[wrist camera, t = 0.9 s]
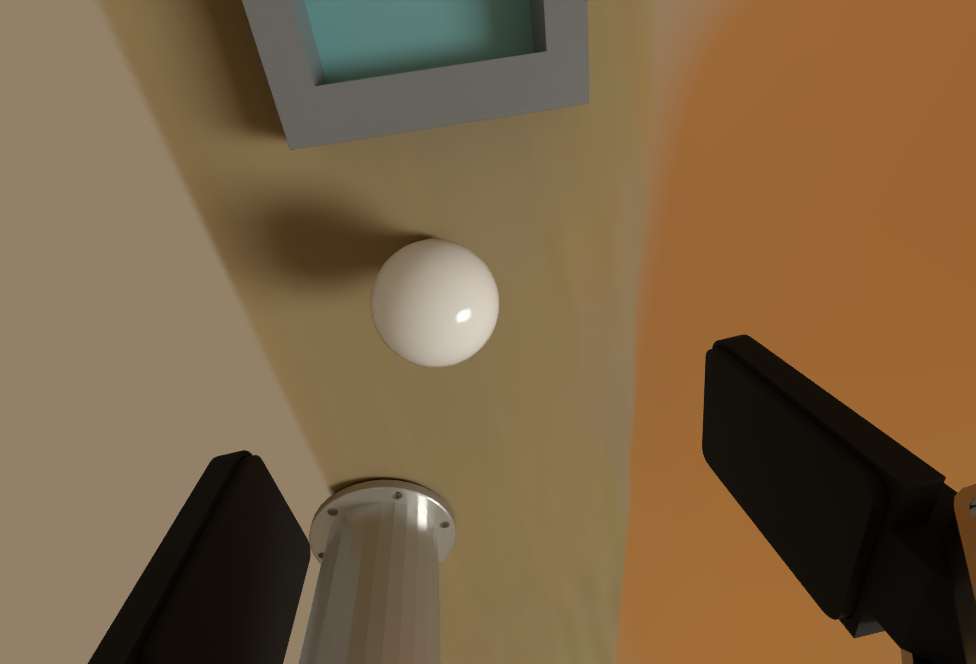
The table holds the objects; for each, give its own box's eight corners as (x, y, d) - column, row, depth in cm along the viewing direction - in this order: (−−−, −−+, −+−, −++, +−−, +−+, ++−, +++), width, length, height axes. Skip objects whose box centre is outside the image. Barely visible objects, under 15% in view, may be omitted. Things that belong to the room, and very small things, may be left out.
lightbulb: (364, 237, 28) (331, 312, 19) (451, 186, 28) (463, 236, 18) (419, 315, 31) (415, 413, 22) (499, 270, 31) (531, 352, 21)
